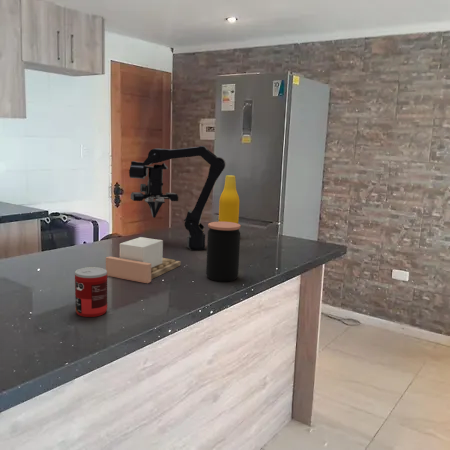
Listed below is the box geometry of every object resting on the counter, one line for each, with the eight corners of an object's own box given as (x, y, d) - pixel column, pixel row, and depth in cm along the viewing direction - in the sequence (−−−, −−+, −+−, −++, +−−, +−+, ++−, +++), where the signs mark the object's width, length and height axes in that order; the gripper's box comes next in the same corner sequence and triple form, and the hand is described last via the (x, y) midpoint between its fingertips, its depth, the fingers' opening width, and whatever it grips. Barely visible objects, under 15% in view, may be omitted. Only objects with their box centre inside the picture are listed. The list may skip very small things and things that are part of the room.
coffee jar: (242, 275, 158) (244, 223, 154) (232, 284, 148) (234, 228, 144) (212, 271, 161) (214, 220, 158) (201, 279, 151) (203, 225, 148)
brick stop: (109, 273, 153) (109, 256, 152) (151, 281, 147) (151, 263, 146) (105, 275, 151) (105, 257, 150) (147, 283, 145) (147, 264, 144)
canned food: (79, 306, 124) (78, 266, 121) (109, 306, 124) (109, 267, 122) (72, 317, 116) (71, 275, 114) (104, 317, 117) (104, 275, 115)
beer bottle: (219, 236, 218) (222, 174, 213) (238, 237, 217) (242, 175, 212) (216, 240, 209) (218, 176, 204) (236, 241, 208) (239, 177, 203)
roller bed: (148, 260, 172) (148, 253, 171) (180, 265, 166) (180, 258, 166) (113, 274, 153) (113, 267, 152) (148, 280, 147) (148, 273, 147)
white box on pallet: (140, 259, 162) (140, 237, 161) (162, 263, 159) (162, 240, 157) (119, 267, 152) (119, 243, 150) (142, 271, 148) (143, 247, 147)
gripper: (171, 178, 199) (169, 213, 202) (128, 177, 191) (127, 214, 194) (179, 181, 189) (177, 218, 192) (134, 180, 181) (133, 219, 184)
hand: (154, 217), depth 191 cm, fingers closed
